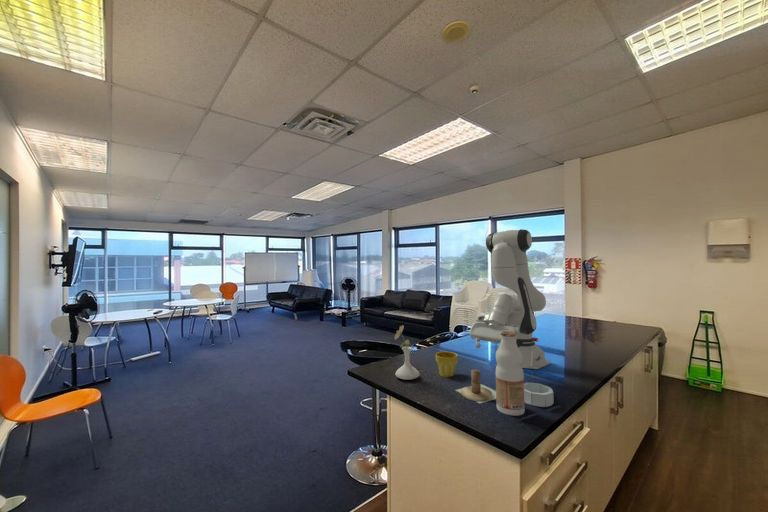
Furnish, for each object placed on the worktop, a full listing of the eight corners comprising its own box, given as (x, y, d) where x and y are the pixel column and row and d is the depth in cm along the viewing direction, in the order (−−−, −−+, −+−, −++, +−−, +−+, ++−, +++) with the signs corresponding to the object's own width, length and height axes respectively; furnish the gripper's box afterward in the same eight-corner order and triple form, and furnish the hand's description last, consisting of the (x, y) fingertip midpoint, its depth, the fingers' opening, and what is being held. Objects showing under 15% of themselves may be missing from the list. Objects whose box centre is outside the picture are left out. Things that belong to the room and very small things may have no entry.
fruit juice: (492, 411, 109) (490, 332, 110) (501, 402, 116) (499, 328, 117) (520, 420, 103) (517, 336, 104) (528, 409, 110) (525, 331, 111)
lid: (477, 386, 130) (476, 364, 130) (498, 397, 119) (498, 372, 120) (454, 392, 125) (454, 368, 125) (475, 403, 114) (474, 378, 114)
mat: (480, 385, 133) (480, 383, 133) (506, 397, 120) (506, 395, 120) (455, 391, 127) (455, 390, 127) (479, 405, 114) (479, 403, 114)
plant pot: (458, 379, 140) (458, 358, 140) (435, 378, 142) (435, 357, 142) (457, 371, 150) (457, 351, 150) (436, 370, 152) (435, 351, 152)
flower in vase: (406, 371, 151) (405, 321, 152) (424, 377, 143) (423, 323, 144) (387, 378, 142) (387, 324, 143) (406, 385, 134) (405, 328, 135)
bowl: (533, 393, 124) (533, 380, 124) (559, 404, 114) (559, 390, 114) (514, 399, 119) (513, 386, 119) (539, 410, 109) (539, 396, 109)
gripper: (521, 330, 133) (514, 357, 126) (477, 324, 147) (468, 349, 139) (518, 321, 130) (510, 349, 122) (473, 316, 144) (463, 341, 136)
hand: (487, 349), depth 131 cm, fingers open, 8 cm apart
